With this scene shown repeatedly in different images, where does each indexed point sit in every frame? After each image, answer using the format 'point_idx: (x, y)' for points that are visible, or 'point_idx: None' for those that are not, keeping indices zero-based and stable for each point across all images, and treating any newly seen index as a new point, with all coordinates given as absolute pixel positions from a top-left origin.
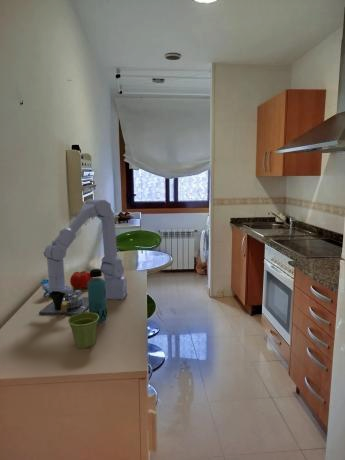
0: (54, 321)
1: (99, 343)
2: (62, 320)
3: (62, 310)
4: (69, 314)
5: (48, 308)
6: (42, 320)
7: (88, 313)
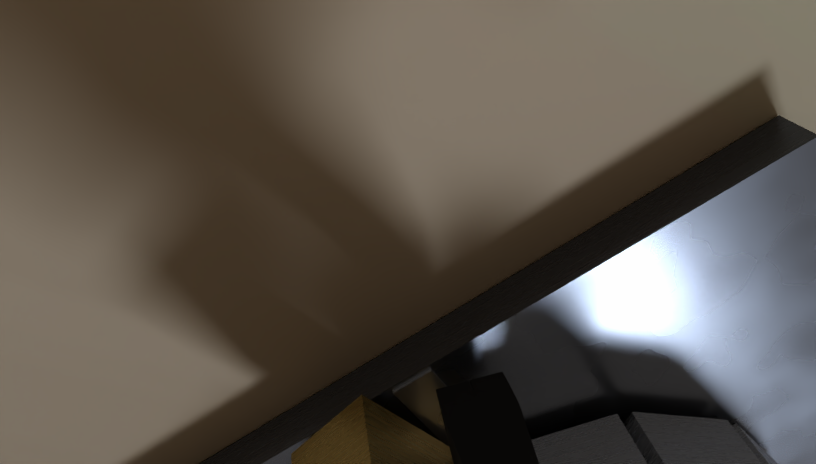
0: (191, 158)
1: None
2: (122, 283)
3: (345, 445)
4: (251, 446)
5: (758, 320)
6: (460, 4)
7: None
